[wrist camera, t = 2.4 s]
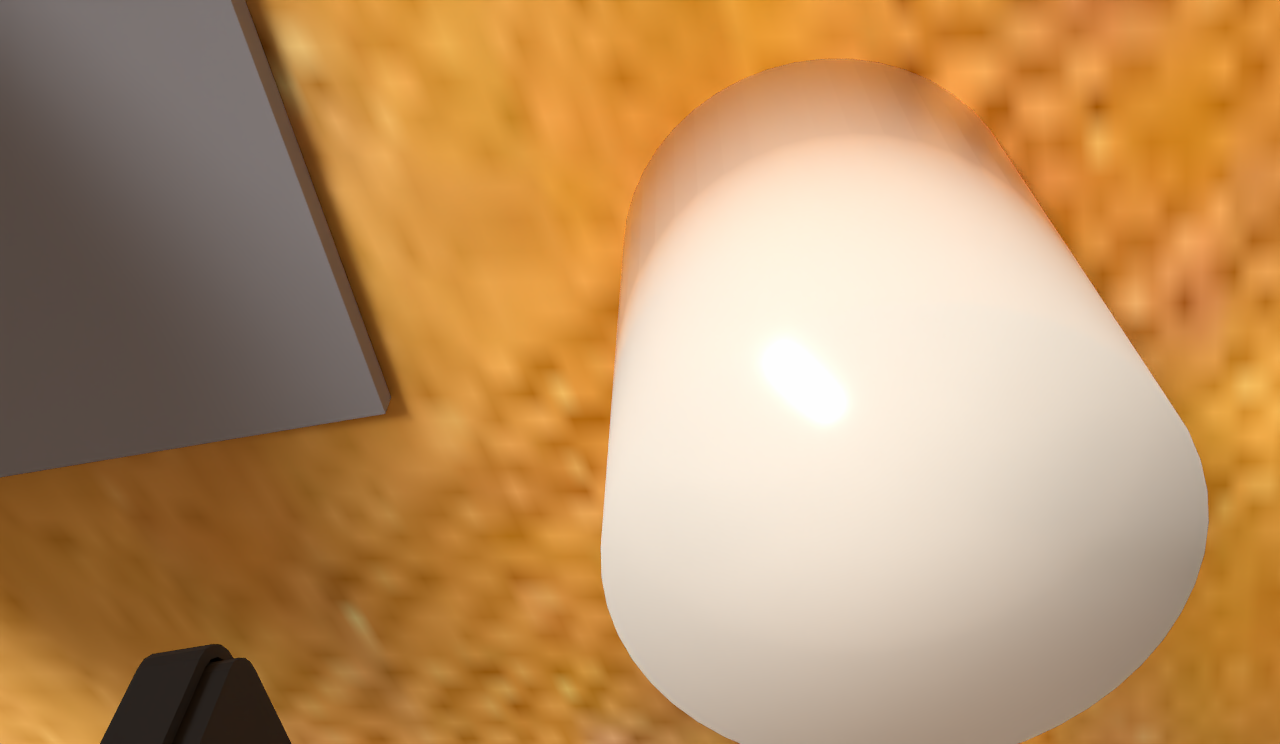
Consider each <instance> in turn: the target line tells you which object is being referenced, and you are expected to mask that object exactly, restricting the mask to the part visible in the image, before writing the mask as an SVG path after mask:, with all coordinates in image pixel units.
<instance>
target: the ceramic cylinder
mask: <svg viewBox="0 0 1280 744" xmlns="http://www.w3.org/2000/svg"><path fill="white" fill-rule="evenodd" d="M1208 524H1209V518H1208V492H1207V487H1206V482H1205V478H1204V473H1203V469H1202V464H1201V460H1200V457H1199V455H1198V453H1197V450H1196V448H1195V445H1194V443H1193V441H1192V438H1191V436H1190V434H1189V431H1188V429H1187V428H1186V426H1185V425H1184V423H1183V422H1182V420H1181V418H1180V417H1179V415H1178V414H1177V412H1176V411H1175V409H1174V408H1173V406H1172V405H1171V403H1170V402H1169V400H1168V398H1167V397H1166V395H1165V394H1164V392H1163V391H1162V389H1161V388H1160V386H1159V385H1158V383H1157V382H1156V380H1155V379H1154V377H1153V376H1152V374H1151V373H1150V371H1149V370H1148V368H1147V367H1146V365H1145V364H1144V362H1143V361H1142V359H1141V358H1140V356H1139V355H1138V353H1137V352H1136V350H1135V349H1134V347H1133V345H1132V344H1131V342H1130V341H1129V339H1128V338H1127V336H1126V335H1125V333H1124V332H1123V330H1122V329H1121V327H1120V326H1119V324H1118V323H1117V321H1116V320H1115V318H1114V317H1113V315H1112V314H1111V312H1110V311H1109V309H1108V308H1107V306H1106V305H1105V303H1104V302H1103V300H1102V299H1101V297H1100V296H1099V294H1098V292H1097V291H1096V289H1095V288H1094V286H1093V285H1092V283H1091V282H1090V280H1089V279H1088V277H1087V276H1086V274H1085V273H1084V271H1083V270H1082V268H1081V267H1080V265H1079V264H1078V262H1077V261H1076V259H1075V258H1074V256H1073V255H1072V253H1071V252H1070V250H1069V249H1068V247H1067V246H1066V244H1065V243H1064V241H1063V239H1062V238H1061V236H1060V235H1059V233H1058V232H1057V230H1056V229H1055V227H1054V226H1053V224H1052V223H1051V221H1050V220H1049V218H1048V217H1047V215H1046V214H1045V212H1044V211H1043V209H1042V208H1041V206H1040V205H1039V203H1038V202H1037V200H1036V199H1035V197H1034V196H1033V194H1032V193H1031V191H1030V189H1029V188H1028V186H1027V185H1026V183H1025V182H1024V180H1023V179H1022V177H1021V176H1020V174H1019V173H1018V171H1017V170H1016V168H1015V167H1014V165H1013V164H1012V162H1011V161H1010V159H1009V158H1008V156H1007V155H1006V153H1005V152H1004V150H1003V149H1002V147H1001V146H1000V144H999V143H998V141H997V140H996V138H995V136H994V135H993V133H992V132H991V130H990V129H989V128H988V127H987V126H986V125H985V123H984V122H983V121H982V120H981V119H980V118H979V117H978V116H977V115H976V113H975V112H974V111H973V110H972V109H970V108H969V107H968V106H967V105H966V104H964V103H963V102H962V101H961V100H960V99H958V98H957V97H956V96H955V95H954V94H952V93H950V92H949V91H947V90H946V89H944V88H942V87H941V86H939V85H937V84H936V83H934V82H932V81H931V80H928V79H926V78H924V77H921V76H919V75H917V74H914V73H912V72H910V71H907V70H905V69H901V68H897V67H894V66H890V65H886V64H883V63H879V62H871V61H864V60H856V59H818V60H810V61H802V62H794V63H791V64H787V65H783V66H779V67H775V68H771V69H767V70H765V71H762V72H760V73H757V74H755V75H752V76H750V77H747V78H745V79H742V80H740V81H738V82H736V83H734V84H733V85H731V86H729V87H727V88H725V89H724V90H722V91H720V92H718V93H716V94H715V95H713V96H712V97H711V98H709V99H708V100H707V101H705V102H704V103H703V104H701V105H700V106H698V107H697V108H696V109H694V110H693V111H692V112H691V113H690V114H689V115H688V116H687V117H686V118H685V119H684V120H682V121H681V122H680V123H679V124H678V125H677V126H676V127H675V128H674V129H673V130H672V132H671V133H670V134H669V135H668V136H667V138H666V139H665V140H664V141H663V143H662V144H661V145H660V146H659V148H658V149H657V150H656V152H655V154H654V155H653V157H652V158H651V160H650V162H649V163H648V165H647V167H646V168H645V170H644V172H643V174H642V176H641V178H640V181H639V183H638V185H637V188H636V190H635V192H634V194H633V198H632V202H631V205H630V209H629V212H628V216H627V221H626V229H625V236H624V245H623V259H622V272H621V285H620V299H619V312H618V325H617V339H616V352H615V365H614V379H613V392H612V405H611V419H610V432H609V445H608V459H607V472H606V485H605V499H604V512H603V525H602V539H601V572H602V582H603V587H604V592H605V597H606V602H607V607H608V610H609V612H610V615H611V618H612V620H613V623H614V625H615V628H616V631H617V633H618V635H619V637H620V639H621V641H622V642H623V644H624V646H625V648H626V649H627V651H628V653H629V655H630V656H631V658H632V660H633V661H634V662H635V663H636V665H637V666H638V667H639V669H640V670H641V671H642V672H643V674H644V675H645V676H646V677H647V679H648V680H649V681H650V682H651V683H652V684H653V685H654V686H655V687H656V688H657V689H658V690H659V691H660V692H661V693H662V694H663V695H664V696H665V697H666V698H667V699H668V700H669V701H671V702H672V703H673V704H674V705H675V706H677V707H678V708H680V709H681V710H682V711H684V712H685V713H686V714H688V715H689V716H690V717H692V718H693V719H695V720H696V721H697V722H699V723H701V724H703V725H704V726H706V727H708V728H710V729H712V730H713V731H715V732H717V733H719V734H720V735H722V736H724V737H726V738H728V739H731V740H733V741H735V742H738V743H740V744H1018V743H1021V742H1024V741H1027V740H1029V739H1031V738H1033V737H1035V736H1037V735H1040V734H1042V733H1044V732H1046V731H1048V730H1050V729H1053V728H1055V727H1057V726H1059V725H1061V724H1062V723H1064V722H1066V721H1067V720H1069V719H1071V718H1072V717H1074V716H1076V715H1078V714H1079V713H1081V712H1083V711H1084V710H1086V709H1088V708H1089V707H1091V706H1092V705H1093V704H1095V703H1096V702H1098V701H1099V700H1100V699H1102V698H1103V697H1104V696H1106V695H1107V694H1109V693H1110V692H1111V691H1113V690H1114V689H1115V688H1117V687H1118V686H1119V685H1120V684H1121V683H1122V682H1123V681H1124V680H1125V679H1126V678H1128V677H1129V676H1130V675H1131V674H1132V673H1133V672H1134V671H1135V670H1136V669H1137V668H1139V667H1140V666H1141V665H1142V664H1143V662H1144V661H1145V660H1146V659H1147V658H1148V657H1149V656H1150V654H1151V653H1152V652H1153V651H1154V650H1155V649H1156V647H1157V646H1158V645H1159V644H1160V643H1161V642H1162V641H1163V639H1164V638H1165V636H1166V635H1167V633H1168V632H1169V630H1170V629H1171V627H1172V626H1173V624H1174V623H1175V621H1176V620H1177V618H1178V617H1179V615H1180V614H1181V612H1182V610H1183V608H1184V606H1185V604H1186V602H1187V600H1188V598H1189V595H1190V593H1191V591H1192V589H1193V587H1194V585H1195V583H1196V579H1197V576H1198V573H1199V570H1200V566H1201V563H1202V560H1203V557H1204V553H1205V546H1206V538H1207V531H1208Z"/></svg>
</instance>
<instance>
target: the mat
mask: <svg viewBox="0 0 1280 744" xmlns="http://www.w3.org/2000/svg"><path fill="white" fill-rule="evenodd" d="M390 400H391V396H390V393H389V390H388V388H387V385H386V382H385V379H384V377H383V374H382V371H381V368H380V366H379V363H378V360H377V358H376V355H375V352H374V349H373V347H372V344H371V341H370V339H369V336H368V333H367V330H366V328H365V325H364V322H363V320H362V317H361V314H360V311H359V309H358V306H357V303H356V300H355V298H354V295H353V292H352V290H351V287H350V284H349V281H348V279H347V276H346V273H345V271H344V268H343V265H342V262H341V260H340V257H339V254H338V252H337V249H336V246H335V243H334V241H333V238H332V235H331V232H330V230H329V227H328V224H327V222H326V219H325V216H324V213H323V211H322V208H321V205H320V203H319V200H318V197H317V194H316V192H315V189H314V186H313V184H312V181H311V178H310V175H309V173H308V170H307V167H306V164H305V162H304V159H303V156H302V154H301V151H300V148H299V145H298V143H297V140H296V137H295V135H294V132H293V129H292V126H291V124H290V121H289V118H288V116H287V113H286V110H285V107H284V105H283V102H282V99H281V96H280V94H279V91H278V88H277V86H276V83H275V80H274V77H273V75H272V72H271V69H270V67H269V64H268V61H267V58H266V56H265V53H264V50H263V48H262V45H261V42H260V39H259V37H258V34H257V31H256V28H255V26H254V23H253V20H252V18H251V15H250V12H249V9H248V7H247V4H246V1H245V0H0V477H5V476H11V475H17V474H23V473H29V472H35V471H41V470H47V469H54V468H60V467H66V466H72V465H78V464H84V463H90V462H96V461H102V460H108V459H114V458H120V457H126V456H132V455H138V454H144V453H150V452H156V451H163V450H169V449H175V448H181V447H187V446H193V445H199V444H205V443H211V442H217V441H223V440H229V439H235V438H241V437H247V436H253V435H259V434H266V433H272V432H278V431H284V430H290V429H296V428H302V427H308V426H314V425H320V424H326V423H332V422H338V421H344V420H350V419H356V418H362V417H368V416H375V415H381V414H385V413H386V411H387V408H388V405H389V402H390Z"/></svg>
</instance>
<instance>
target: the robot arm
mask: <svg viewBox="0 0 1280 744" xmlns="http://www.w3.org/2000/svg"><path fill="white" fill-rule="evenodd" d="M100 744H291V742H290V740H289V738H288V736H287V734H286V732H285V730H284V728H283V726H282V723H281V721H280V719H279V717H278V715H277V713H276V711H275V709H274V707H273V705H272V703H271V701H270V699H269V697H268V695H267V693H266V691H265V689H264V687H263V685H262V683H261V681H260V679H259V677H258V674H257V672H256V670H255V669H254V667H253V665H252V664H251V662H250V661H248V660H247V659H246V658H235V659H234V658H233V657H232V655H231V654H230V652H229V651H228V650H227V649H226V648H224V647H223V646H222V645H218V644H211V645H205V646H199V647H193V648H187V649H181V650H175V651H168V652H162V653H156V654H152V655H150V656H148V657H147V658H145V659H144V660H143V662H142V663H141V664H140V666H139V667H138V669H137V671H136V673H135V675H134V677H133V679H132V681H131V683H130V685H129V687H128V689H127V691H126V693H125V695H124V697H123V699H122V701H121V703H120V705H119V707H118V709H117V711H116V713H115V715H114V717H113V719H112V721H111V723H110V725H109V727H108V729H107V731H106V733H105V735H104V737H103V739H102V741H101V743H100Z"/></svg>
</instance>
